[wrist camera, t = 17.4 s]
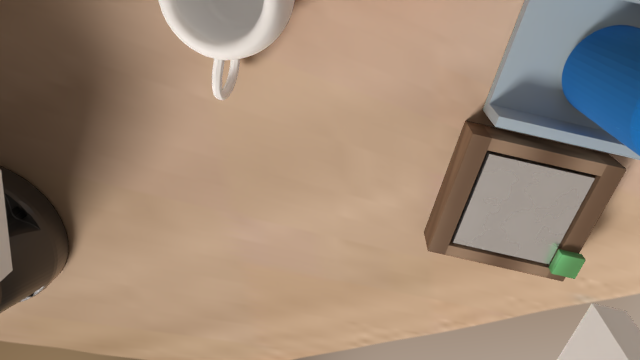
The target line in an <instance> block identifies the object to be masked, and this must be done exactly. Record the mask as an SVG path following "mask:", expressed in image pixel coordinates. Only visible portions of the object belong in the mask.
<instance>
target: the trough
mask: <svg viewBox="0 0 640 360" xmlns="http://www.w3.org/2000/svg"><path fill="white" fill-rule="evenodd" d="M614 25H629V26H634V27H637V28H640V0H525V1H524V3H523V6H522V9H521V11H520V14H519V16H518V19H517V22H516V24H515V27H514V29H513V32H512V35H511V37H510V40H509V42H508V45H507V48H506V50H505V53H504V55H503V58H502V61H501V63H500V66H499V68H498V71H497V74H496V76H495V79H494V81H493V84H492V87H491V89H490V92H489V94H488V97H487V100H486V102H485V105H484V107H483V111H484V112H485V114H486V115H487V116H488V118H489V119H490V121H491V122H492V123H493V125H494V126H495V127H499V128H503V129H507V130H512V131H516V132H520V133H525V134H529V135H533V136H538V137H542V138H546V139H551V140H555V141H559V142H564V143H568V144H572V145H577V146H581V147H585V148H590V149H594V150H598V151H603V152H607V153H611V154H616V155H620V156H624V157H629V158H633V159H637V160H640V156H639V155H637V154H636V153H635V152H633V151H632V150H631V149H629V148H628V147H627V146H625V145H624V144H623V143H621V142H620V141H619V140H617V139H616V138H615V137H613V136H612V135H611V134H609V133H608V132H607V131H605V130H604V129H603V128H601V127H600V126H599V125H597V124H596V123H595V122H593V121H592V120H590V119H589V118H588V117H586V116H585V115H584V114H582V113H581V112H580V111H578V110H577V109H576V108H574V107H573V106H572V105H571V104H570V103H569V102H568V100H567V99H566V97H565V95H564V92H563V89H562V80H561V78H562V71H563V67H564V65H565V62H566V60H567V58H568V56H569V54H570V53H571V52H572V50H573V49H574V48H575V47H576V45H577V44H578V43H579V42H581V41H582V40H583V39H584V38H585V37H587V36H588V35H590V34H592V33H593V32H595V31H597V30H599V29H602V28H605V27H609V26H614Z"/></svg>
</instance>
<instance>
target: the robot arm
mask: <svg viewBox="0 0 640 360" xmlns="http://www.w3.org/2000/svg"><path fill="white" fill-rule="evenodd" d="M67 256H68V239H67V235H66V231H65V228H64V225H63V223H62V221H61V219H60V217H59V215H58V213H57V212H56V210H55V209H54V207H53V206H52V205H51V203H50V202H49V201H48V200H47V199H46V198H45V196H44V195H43V194H42V193H41V192H40V191H38V190H37V189H36V188H35V187H34V186H33V185H31V184H30V183H29V182H27V181H26V180H25V179H23V178H22V177H20V176H18V175H17V174H15V173H13V172H11V171H9V170H7V169H5V168H2V167H0V313H1V312H3V311H5V310H6V309H8V308H9V307H11V306H13V305H15V304H16V303H18V302H21V301H24V300H27V299H29V298H31V297H33V296H35V295H37V294H38V293H40V292H41V291H42V290H44V289H45V288H46V287H47V286H48V285H49V284H50V283H51V282H52V281H53V280H54V279H55V278H56V277H57V276H58V274H59V273H60V272H61V271H62V269H63V267H64V265H65V263H66V260H67ZM557 360H640V330H639V328H638V327H637V325H636V324H635V323H634V321H633V320H632V319H631V317H630V316H629V314H628V313H627V312H626V311H625V310H621V309H616V308H612V307H608V306H603V305H599V304H594V303H592V304H591V306H590V307H589V309H588V311H587V312H586V314H585V315H584V317H583V318H582V320H581V322H580V324H579V325H578V327H577V328H576V330H575V332H574V333H573V335H572V336H571V338H570V339H569V341H568V343H567V344H566V346H565V348H564V349H563V351H562V352H561V354H560V356H559V357H558V359H557Z"/></svg>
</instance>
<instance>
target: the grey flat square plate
mask: <svg viewBox="0 0 640 360" xmlns="http://www.w3.org/2000/svg"><path fill="white" fill-rule="evenodd" d="M594 179H595V178H594V177H593V176H592V175H591V174H589V173H584V172H580V171H576V170H571V169H567V168H563V167H558V166H554V165H550V164H545V163H541V162H536V161H532V160H528V159H523V158H519V157H515V156H510V155H506V154H502V153H497V152H493V151H489V150H487V152H486V155H485V157H484V160H483V162H482V165H481V167H480V170H479V172H478V174H477V177H476V179H475V182H474V184H473V187H472V189H471V192H470V194H469V197H468V199H467V202H466V204H465V206H464V209H463V211H462V214H461V216H460V219H459V221H458V224H457V226H456V229H455V231H454V234H453V236H452V241H453V243H457V244H461V245H466V246H470V247H474V248H479V249H483V250H488V251H492V252H497V253H501V254H505V255H510V256H514V257H519V258H523V259H527V260H532V261H536V262H541V263H545V264H549V263H550V261H551V259H552V258H553V256H554V254H555V252H556V250H557V248H558V246H559V245H560V243H561V241H562V239H563V237H564V235H565V233H566V232H567V230H568V228H569V226H570V224H571V222H572V220H573V218H574V217H575V215H576V213H577V211H578V209H579V207H580V205H581V204H582V202H583V200H584V198H585V196H586V194H587V192H588V191H589V189H590V187H591V185H592V183H593V181H594Z"/></svg>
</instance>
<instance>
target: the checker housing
mask: <svg viewBox="0 0 640 360" xmlns="http://www.w3.org/2000/svg"><path fill="white" fill-rule="evenodd" d="M487 150H489V151H493V152H497V153H502V154H506V155H510V156H515V157H519V158H523V159H528V160H532V161H536V162H541V163H545V164H550V165H554V166H558V167H563V168H567V169H571V170H576V171H580V172H584V173H589V174H591V175H592V176H593V177H594V178H595V179H594V181H593V183H592V185H591V187H590V189H589V191H588V192H587V194H586V196H585V198H584V200H583V202H582V204H581V205H580V207H579V209H578V211H577V213H576V215H575V217H574V218H573V220H572V222H571V224H570V226H569V228H568V230H567V232H566V233H565V235H564V237H563V239H562V241H561V243H560V245H559V246H558V248H557V250H556V252H555V254H554V256H553V258H552V259H551V261H550V263H549V264H545V263H541V262H536V261H532V260H527V259H523V258H519V257H514V256H510V255H505V254H501V253H497V252H492V251H488V250H483V249H479V248H474V247H470V246H466V245H461V244H457V243H453V241H452V236H453V234H454V231H455V229H456V226H457V224H458V221H459V219H460V216H461V214H462V211H463V209H464V206H465V204H466V202H467V199H468V197H469V194H470V192H471V189H472V187H473V184H474V182H475V179H476V177H477V174H478V172H479V170H480V167H481V165H482V162H483V160H484V157H485V155H486V152H487ZM625 171H626V168H625V167H623V166H622V165H621V164H620V163H619V162H617V161H616V160H615V159H614V158H613V157H611V156H610V155H609V154H607V153H603V152H598V151H594V150H590V149H585V148H581V147H577V146H572V145H568V144H564V143H559V142H555V141H551V140H546V139H542V138H538V137H533V136H529V135H525V134H520V133H516V132H512V131H507V130H503V129H499V128H494V127H490V126H486V125H481V124H477V123H473V122H468V121H465V123H464V126H463V128H462V131H461V134H460V136H459V139H458V142H457V145H456V147H455V150H454V153H453V155H452V158H451V161H450V163H449V166H448V169H447V171H446V174H445V177H444V180H443V182H442V185H441V188H440V190H439V193H438V196H437V198H436V201H435V204H434V207H433V209H432V212H431V215H430V217H429V220H428V223H427V225H426V228H425V231H424V234H425V239H426V244H427V249H428V251H431V252H435V253H439V254H444V255H448V256H453V257H457V258H462V259H466V260H470V261H475V262H479V263H484V264H488V265H493V266H497V267H501V268H506V269H510V270H515V271H519V272H524V273H528V274H532V275H537V276H541V277H546V278H550V279H554V280H559V281H564V279H565V277H568V278H573V279H575V278H576V276H577V274H578V272H579V271H580V269H581V267H582V265H583V264H584V262H585V258H584V257H583V255H582V254H579V252H580V251H581V249H582V247H583V245H584V244H585V242H586V240H587V238H588V236H589V235H590V233H591V231H592V229H593V228H594V226H595V224H596V222H597V221H598V219H599V217H600V215H601V213H602V212H603V210H604V208H605V206H606V205H607V203H608V201H609V199H610V198H611V196H612V194H613V192H614V191H615V189H616V187H617V185H618V183H619V182H620V180H621V178H622V176H623V175H624V173H625Z"/></svg>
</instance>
